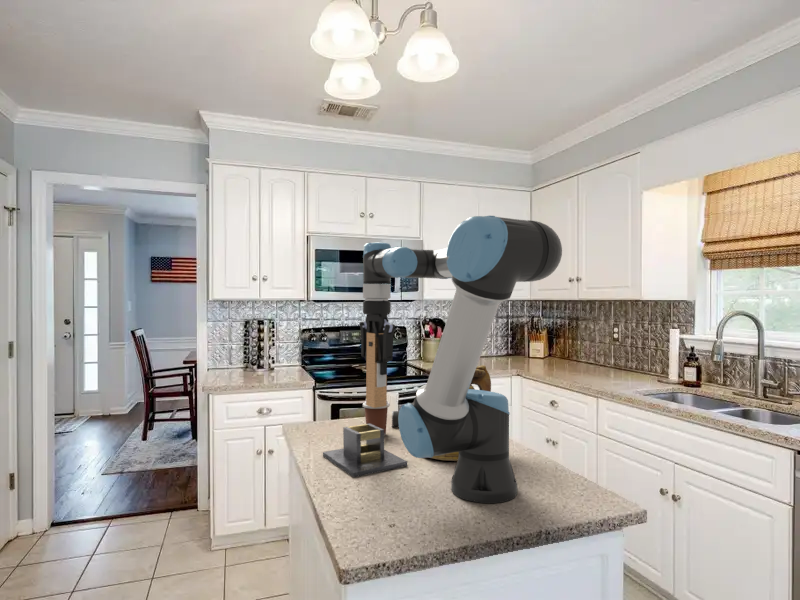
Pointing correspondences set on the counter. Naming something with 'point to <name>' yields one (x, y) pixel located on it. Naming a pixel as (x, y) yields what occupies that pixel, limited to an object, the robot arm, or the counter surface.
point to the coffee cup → (376, 416)
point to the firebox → (363, 452)
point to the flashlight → (395, 418)
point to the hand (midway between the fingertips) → (376, 384)
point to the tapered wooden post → (373, 375)
